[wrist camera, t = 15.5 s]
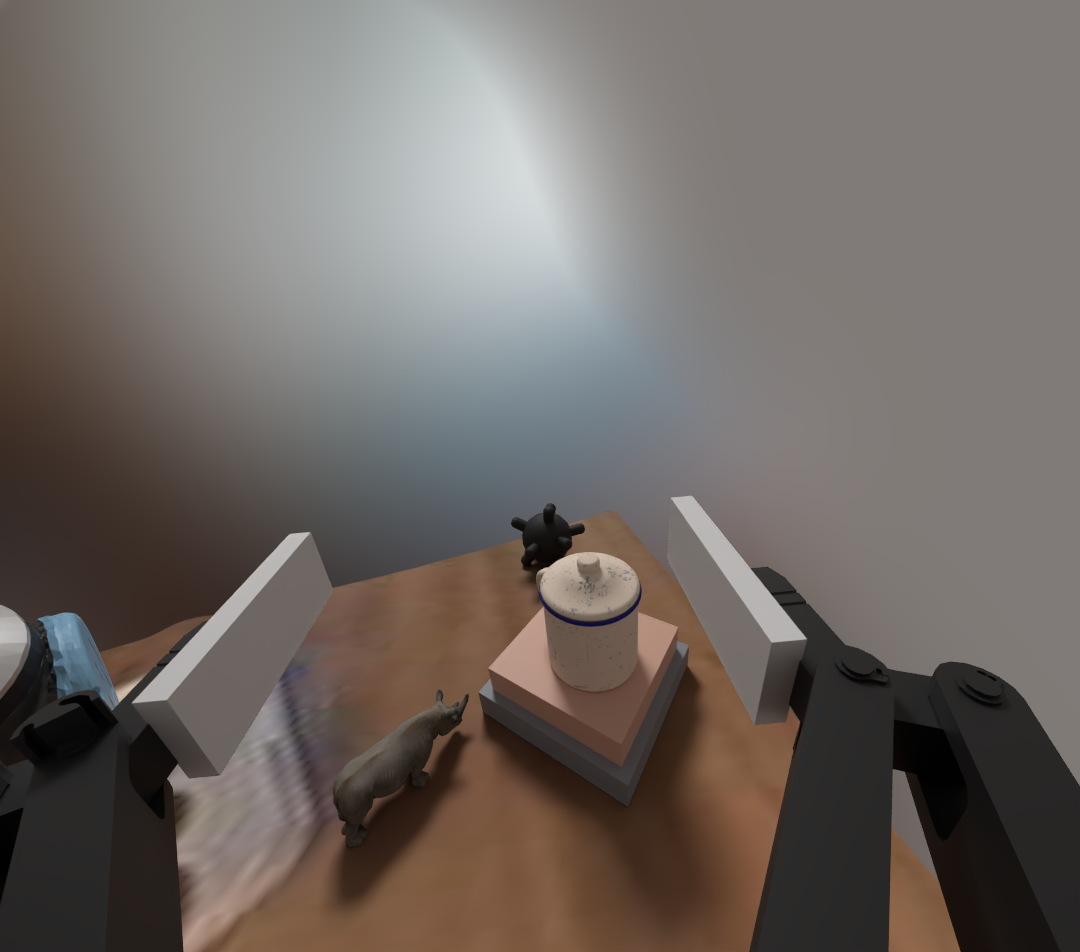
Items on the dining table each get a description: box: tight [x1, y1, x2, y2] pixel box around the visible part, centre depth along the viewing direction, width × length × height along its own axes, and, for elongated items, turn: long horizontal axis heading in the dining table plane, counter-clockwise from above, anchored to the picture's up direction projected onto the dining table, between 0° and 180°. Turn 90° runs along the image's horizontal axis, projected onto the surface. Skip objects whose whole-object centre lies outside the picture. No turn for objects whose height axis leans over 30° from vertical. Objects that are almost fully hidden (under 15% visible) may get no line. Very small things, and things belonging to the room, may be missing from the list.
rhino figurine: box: [333, 689, 469, 847], centre depth 37 cm, size 4×14×6 cm, turn 137°
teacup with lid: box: [536, 552, 641, 692], centre depth 39 cm, size 12×9×12 cm
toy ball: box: [511, 503, 585, 566], centre depth 63 cm, size 11×11×12 cm
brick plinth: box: [479, 607, 689, 807], centre depth 43 cm, size 16×16×6 cm
